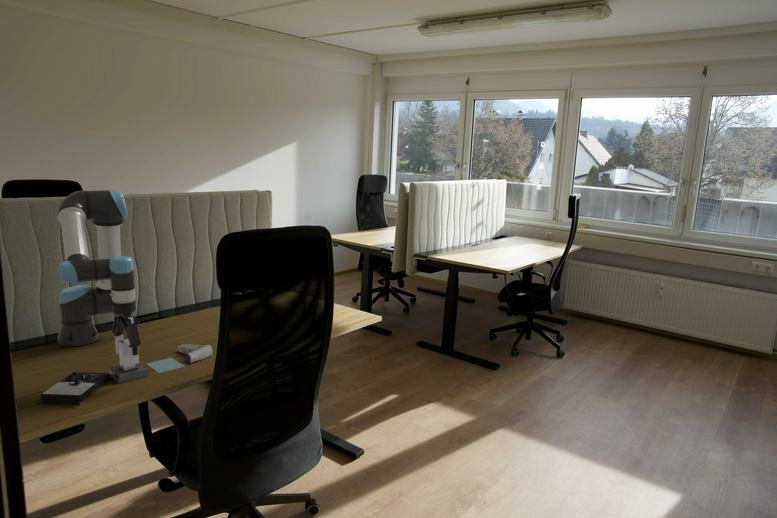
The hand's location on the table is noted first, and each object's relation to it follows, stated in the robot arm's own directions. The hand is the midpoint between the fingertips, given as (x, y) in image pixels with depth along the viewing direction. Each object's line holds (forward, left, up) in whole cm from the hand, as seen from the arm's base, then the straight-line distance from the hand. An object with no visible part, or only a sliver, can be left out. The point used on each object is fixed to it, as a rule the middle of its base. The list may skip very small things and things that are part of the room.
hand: (127, 358), depth 201 cm
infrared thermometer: (-6, +26, -8) cm, 28 cm away
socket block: (0, 0, -8) cm, 8 cm away
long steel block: (0, 0, -7) cm, 7 cm away
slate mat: (-1, +14, -8) cm, 16 cm away
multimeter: (+1, -17, -8) cm, 19 cm away
